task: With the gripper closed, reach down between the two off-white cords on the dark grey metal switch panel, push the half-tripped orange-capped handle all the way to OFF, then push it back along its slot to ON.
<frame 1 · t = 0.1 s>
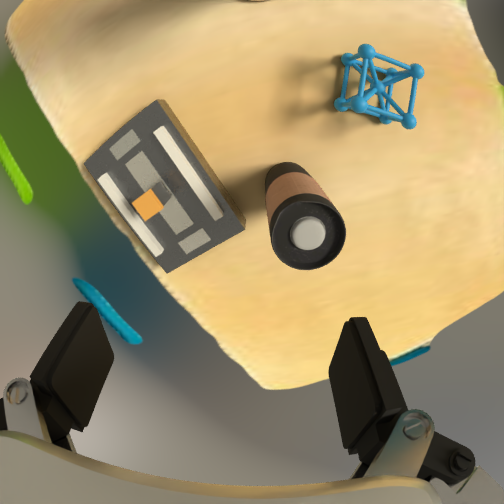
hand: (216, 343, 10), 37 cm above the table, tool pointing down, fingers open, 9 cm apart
switch handle: (152, 199, 39), point 7 cm above the table, slide at 5.0 cm
molecular structure: (364, 88, 37), on the table
switch panel: (166, 186, 45), on the table
travel mug: (287, 183, 45), on the table
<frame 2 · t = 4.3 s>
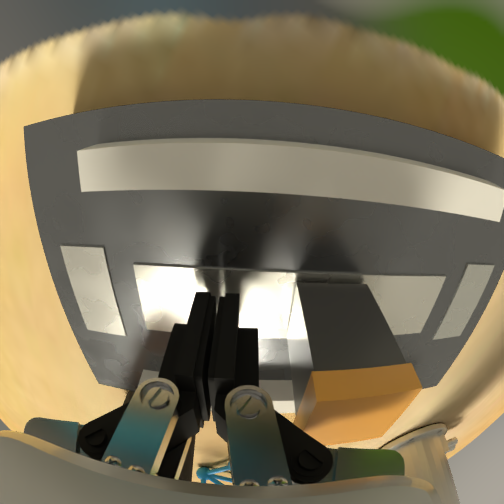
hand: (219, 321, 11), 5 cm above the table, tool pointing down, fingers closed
switch handle: (339, 360, 9), point 7 cm above the table, slide at 4.0 cm, touching gripper
molecular structure: (240, 467, 33), on the table
switch panel: (291, 260, 15), on the table
travel mug: (161, 405, 24), on the table
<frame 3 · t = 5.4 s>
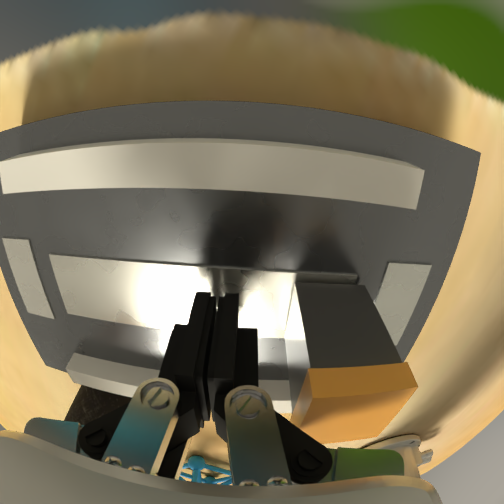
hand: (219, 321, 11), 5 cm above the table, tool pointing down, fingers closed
switch handle: (336, 359, 9), point 7 cm above the table, slide at -0.8 cm, touching gripper
molecular structure: (204, 466, 33), on the table
switch panel: (202, 255, 16), on the table
travel mug: (115, 395, 23), on the table
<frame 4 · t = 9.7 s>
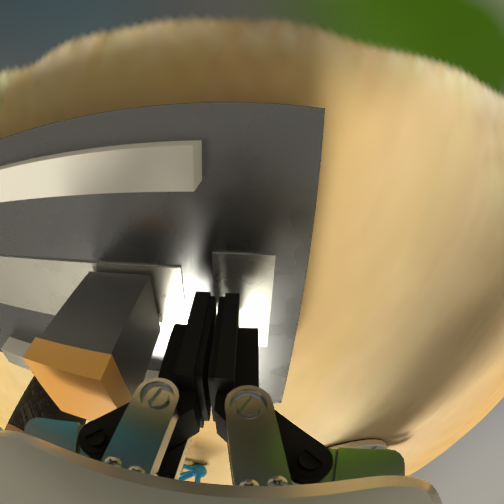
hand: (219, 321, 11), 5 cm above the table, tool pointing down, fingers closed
switch handle: (102, 343, 9), point 7 cm above the table, slide at 0.8 cm, touching gripper
molecular structure: (165, 459, 33), on the table
switch panel: (90, 252, 15), on the table
travel mug: (66, 383, 24), on the table
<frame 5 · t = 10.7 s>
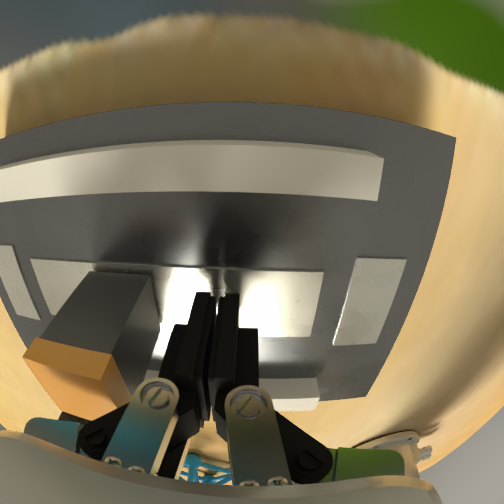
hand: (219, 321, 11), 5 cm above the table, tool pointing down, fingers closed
switch handle: (102, 343, 9), point 7 cm above the table, slide at 6.5 cm, touching gripper
molecular structure: (202, 464, 33), on the table
switch panel: (176, 255, 16), on the table
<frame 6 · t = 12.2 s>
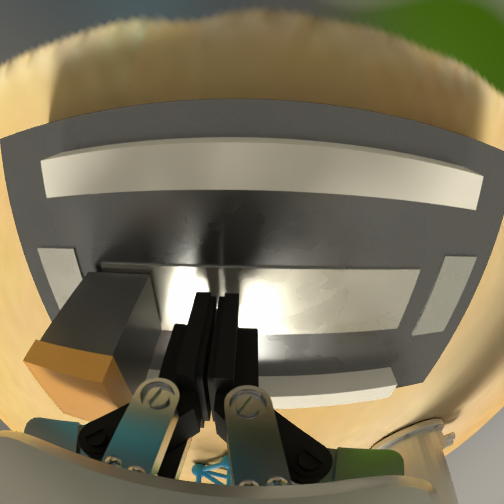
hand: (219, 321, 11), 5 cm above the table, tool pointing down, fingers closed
switch handle: (103, 344, 9), point 7 cm above the table, slide at 11.1 cm, touching gripper
molecular structure: (235, 464, 33), on the table
switch panel: (261, 255, 15), on the table
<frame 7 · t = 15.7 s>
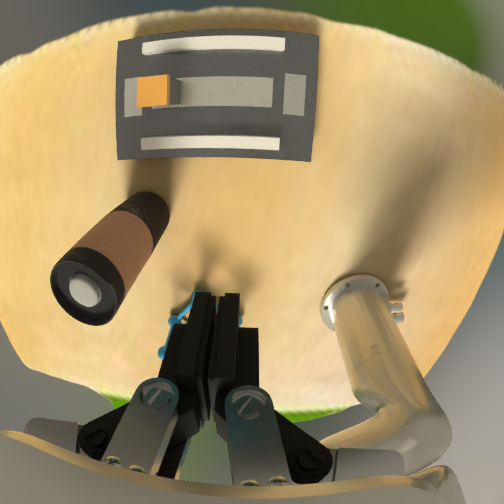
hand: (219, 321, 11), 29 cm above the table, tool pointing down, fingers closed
switch handle: (159, 92, 26), point 7 cm above the table, slide at 10.1 cm
molecular structure: (205, 316, 49), on the table
switch panel: (215, 93, 32), on the table
travel mug: (147, 213, 40), on the table
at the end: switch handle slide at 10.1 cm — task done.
